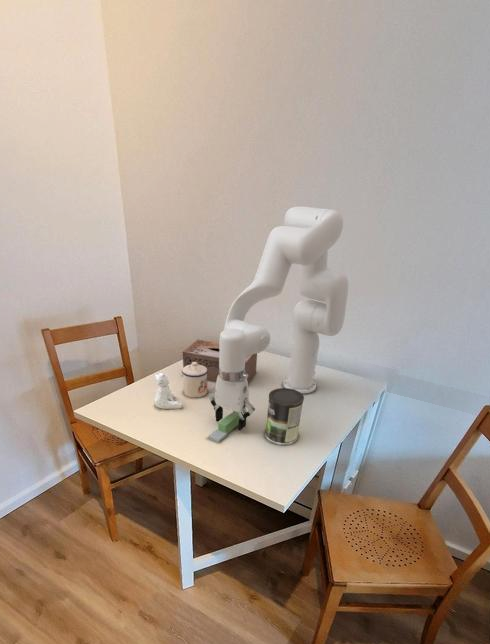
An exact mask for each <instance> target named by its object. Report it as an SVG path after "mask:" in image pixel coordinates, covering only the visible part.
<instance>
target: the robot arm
mask: <svg viewBox="0 0 490 644" xmlns="http://www.w3.org/2000/svg"><path fill="white" fill-rule="evenodd" d="M283 224H284V225H279V226H276V227H274V228H273V229H272V230H271V231H270V233H269V235H268V236H267V240H266V243H265V245H264V249H263V251H262V254H261V257H260V261H259V263H258V267H257V269H256V273H255V276H254V279H253V281H251V282H252V283H251V284H250V285H248V286H247V287H246V288H245V289H244V290H243V291H241V293H240V294H239V295H237V297H236V298H235V300H233V302H232V304H231V306H230V308H229V310H228V313H227V316H226V319H225V323H224V326H223V330H222V331H221V332H220V334H219V342H218V343H219V375H218V377H217V381H216V382H215V389H214V391H213V392H211V393H209V394H208V395H207V398H208V399H209V401H210V404H211V405H212V407H213V410H214V412H215V416H214V417H215V422H217V423H219V422H220V421H222V420H223V419H224V408H225V409H227V410H230V411H232V412H233V411H236V412H238V414H239V416H240V419H239V425H238V426H237V429H238V431H242V430H243V429H244V428H246V426H247V418H248V417H250V416H251V415H252V414H253V413H254V412H255V411H256V408H255V407H254V405H253V404H252V403H251V402H250V393H249V392H250V390H249V383H248V382H247V378H248V374H246V373H245V357H246V355H249V354H256V353H257V354H259V353H262V352H264V351H266V349H268V347H269V345H270V342H271V334H270V332H269V330H267V328H266V327H264V326H261V325H257V324H255V323H251V322H247V321H245V318H246V315H247V314H248V312H249V311H250V310H251V308H252V307H253V306H255V305H256V304H258V303H260V302H261V301H264V300H267V299H270V298H274V297H277V296H279V295H280V294H282V292H283V289H284V286H285V283H286V280H287V277H288V275H289V272H290V269H291V267H292V264H294V265H299V269H298V291H299V294H300V295H301V296H302V297H304V298H307V299H302V300H300V301H299V302H298V303H296V304H295V306H294V308H293V313H292V322H293V323H292V324H293V335H292V346H291V352H290V360H289V369H288V376H287V378H285V379H284V380H283V383H282V384H283V388H289V389H294V390H296V391H299V392H300V393H302V394H303V395H304V394H311V393H313V392H315V391H316V389H317V383H316V381H314V377H315V374H316V366H317V359H318V353H319V349H320V337H319V334H320V335H324V336H328V337H334V336H337V335H338V334H339V333H340V332H341V330H342V328H343V326H344V321H345V316H346V309H347V301H348V293H349V280H348V275H346V273H344V272H343V271H341V270H337V269H332V268H330V267H328V257H329V255H328V254H329V250H330V249H331V248H332V247H333V246H334V245H335V244H336V243H337V242H338V240H339V239H340V236H341V235H342V232H343V229H344V228H343V227H344V220H343V216H342V214H341V212H339V211H338V210H335V209H331V208H322V207H321V208H320V207H312V206H301V205H300V206H292V207H291V208H289V209H288V210H287V211H286V212H285V215H284V220H283ZM247 410H248V411H247Z"/></svg>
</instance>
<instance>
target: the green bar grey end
mask: <svg viewBox="0 0 490 644" xmlns="http://www.w3.org/2000/svg"><path fill="white" fill-rule="evenodd" d="M239 419H240V416H239V414H238V412H236V411H233V410H232V412H231V413H229V414H228V415H227V416H225V418H224V417H223V418H222V419H221V420H220V421H218V422H217V429H215V430H214V431H213V432H212V433H210V434H209V435H208V439H209V440H212V441H213V442H216V443H220V442H222V441H223V440H224V439H226V438H227V436H228V434H229V433H231V431H233V430H234V429H235V428H237V427H238V426H239Z"/></svg>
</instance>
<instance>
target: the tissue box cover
mask: <svg viewBox="0 0 490 644" xmlns="http://www.w3.org/2000/svg"><path fill="white" fill-rule="evenodd" d="M192 362H197V364H199V365H202V366H205V367H206V368H207V371H208V372H207V382H214V383H216V381H217V377H218V375H219V342H216V341H210V340H203V339H196V340H195V341H194V342H193V343H191V344H190V345H189V346H188V347H186V348H185V349H184V350H183V351H182V367H183V368H184V367H185V366H187V365H191V364H192ZM257 362H258V353H256V354H249V355H246V357H245V373H246V374H248V378H247V382H248V384H249V383H250V381H251V380H252V379H253V377H254V376H255V375H256V374H257V365H258V364H257ZM183 368H182V369H183Z"/></svg>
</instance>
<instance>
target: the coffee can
mask: <svg viewBox="0 0 490 644" xmlns="http://www.w3.org/2000/svg"><path fill="white" fill-rule="evenodd" d="M304 401H305V396H304V394H302V393H300V392H299V391H296V390H294V389H289V388H285V387H279V388H275V389H273V390H271V391H270V392H269V393H268V404H267V415H266V426H265V434H264V435H265V438H266V440H268V441H269V442H270V443H272V444H276V445H279V446H287V445H291V444H295V442H297V440H298V434H299V429H300V424H301V423H300V422H301V416H302V409H303V405H304Z"/></svg>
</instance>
